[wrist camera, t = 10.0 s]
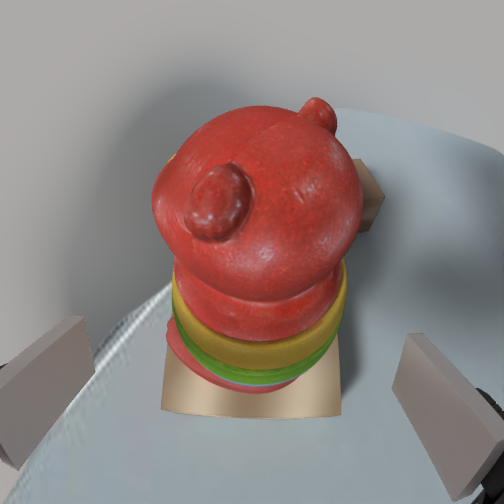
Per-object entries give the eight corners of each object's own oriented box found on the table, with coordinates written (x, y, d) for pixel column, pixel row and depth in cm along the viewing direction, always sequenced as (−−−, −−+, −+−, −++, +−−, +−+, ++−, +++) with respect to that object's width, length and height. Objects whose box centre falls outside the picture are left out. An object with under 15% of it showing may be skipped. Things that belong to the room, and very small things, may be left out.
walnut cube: (348, 193, 38) (360, 158, 32) (368, 230, 34) (384, 196, 29) (305, 200, 37) (312, 163, 32) (322, 239, 34) (334, 204, 29)
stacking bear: (254, 250, 27) (258, 41, 12) (346, 325, 23) (471, 142, 8) (157, 334, 23) (28, 152, 8) (250, 429, 19) (253, 444, 4)
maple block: (319, 286, 30) (330, 260, 26) (325, 417, 23) (341, 414, 19) (190, 282, 31) (180, 256, 26) (176, 412, 24) (160, 409, 19)
